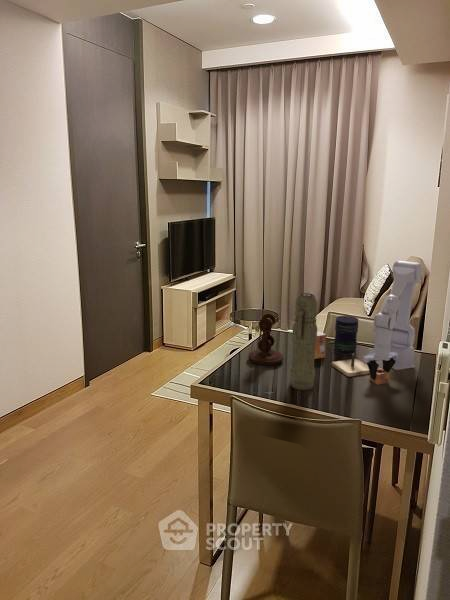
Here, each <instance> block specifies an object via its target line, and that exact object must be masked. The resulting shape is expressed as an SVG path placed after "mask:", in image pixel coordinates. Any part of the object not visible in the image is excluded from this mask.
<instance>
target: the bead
mask: <svg viewBox="0 0 450 600" xmlns="http://www.w3.org/2000/svg"><path fill="white" fill-rule="evenodd" d="M368 377H369V378H368V380H369V381H371V382H373V383H374V384H375V385H382V384H388V383H389V380H390V379H389V378H390V372H387V371H385V370H383V367H380V368H379V367H378V369H377V373H376V378H375V379H372V378H371V377H370V375H369V376H368Z"/></svg>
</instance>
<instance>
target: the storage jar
mask: <svg viewBox="0 0 450 600" xmlns="http://www.w3.org/2000/svg"><path fill="white" fill-rule="evenodd" d="M358 329H359V319H358V318H357V317H354V316H348V315H339V316H337V317H335V327H334V330H335V336H334V341H333V352H335V353H336V354H340V355H352V354H356V353H357V352H356V351H357V350H356V349H357V345H358V344H357V343H358V342H357V334H358V331H359V330H358Z"/></svg>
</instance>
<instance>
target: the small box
mask: <svg viewBox="0 0 450 600" xmlns="http://www.w3.org/2000/svg"><path fill="white" fill-rule="evenodd" d="M326 343H327V334H325V333H323V332H321V331H320V330H317V342H316V344H315V354H314V360H316V359H323V358H325V356H326V346H327V345H326Z"/></svg>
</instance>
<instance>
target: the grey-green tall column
mask: <svg viewBox="0 0 450 600" xmlns="http://www.w3.org/2000/svg"><path fill="white" fill-rule="evenodd" d="M294 308H295V309H294V310H295V313H294V315H295V318H294V322H293V325H292V337H291V339H292V361H291V362H292V365H291V367H290V373H289V374H290V377H289V378H290V387H292V388H293V389H295V390H298V391H299V390H300V391H308V390H312V389H313V388H314V385H315V384H314V381H315V377H316V376H315V375H316V371H315V370H316V369H315V366H314V365H315V359H314V354H315V344H316V342H317V331H318V326H317V314H318V302H317V297H316V295H315V294H312V293H309V292H307V293H306V292H303V293H300V294H298V295H297V298H296V301H295V307H294Z"/></svg>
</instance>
